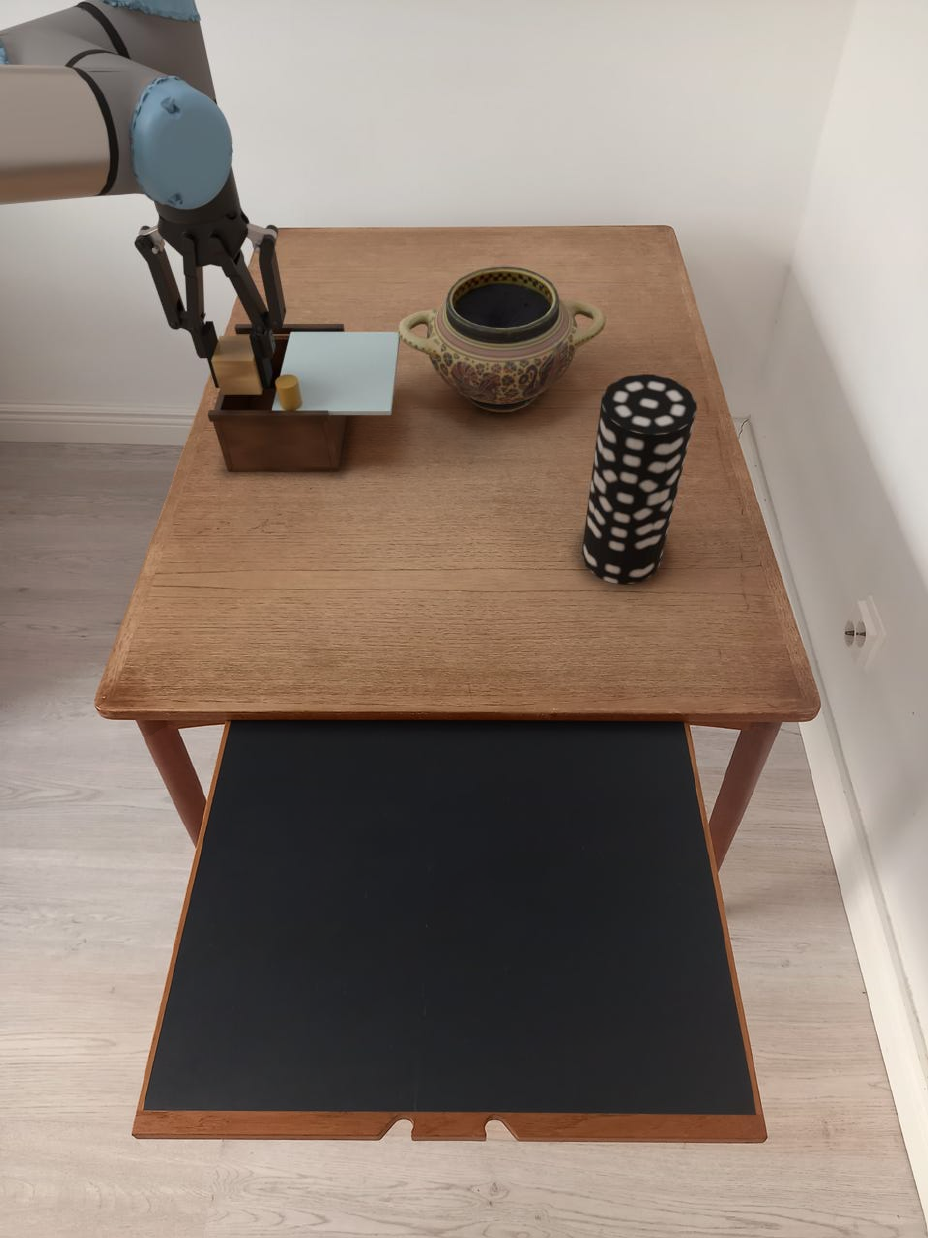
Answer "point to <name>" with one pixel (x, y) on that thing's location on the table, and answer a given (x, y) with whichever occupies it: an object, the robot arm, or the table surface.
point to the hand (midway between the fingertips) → (244, 379)
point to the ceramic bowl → (502, 336)
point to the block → (236, 366)
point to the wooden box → (277, 422)
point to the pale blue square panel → (339, 373)
